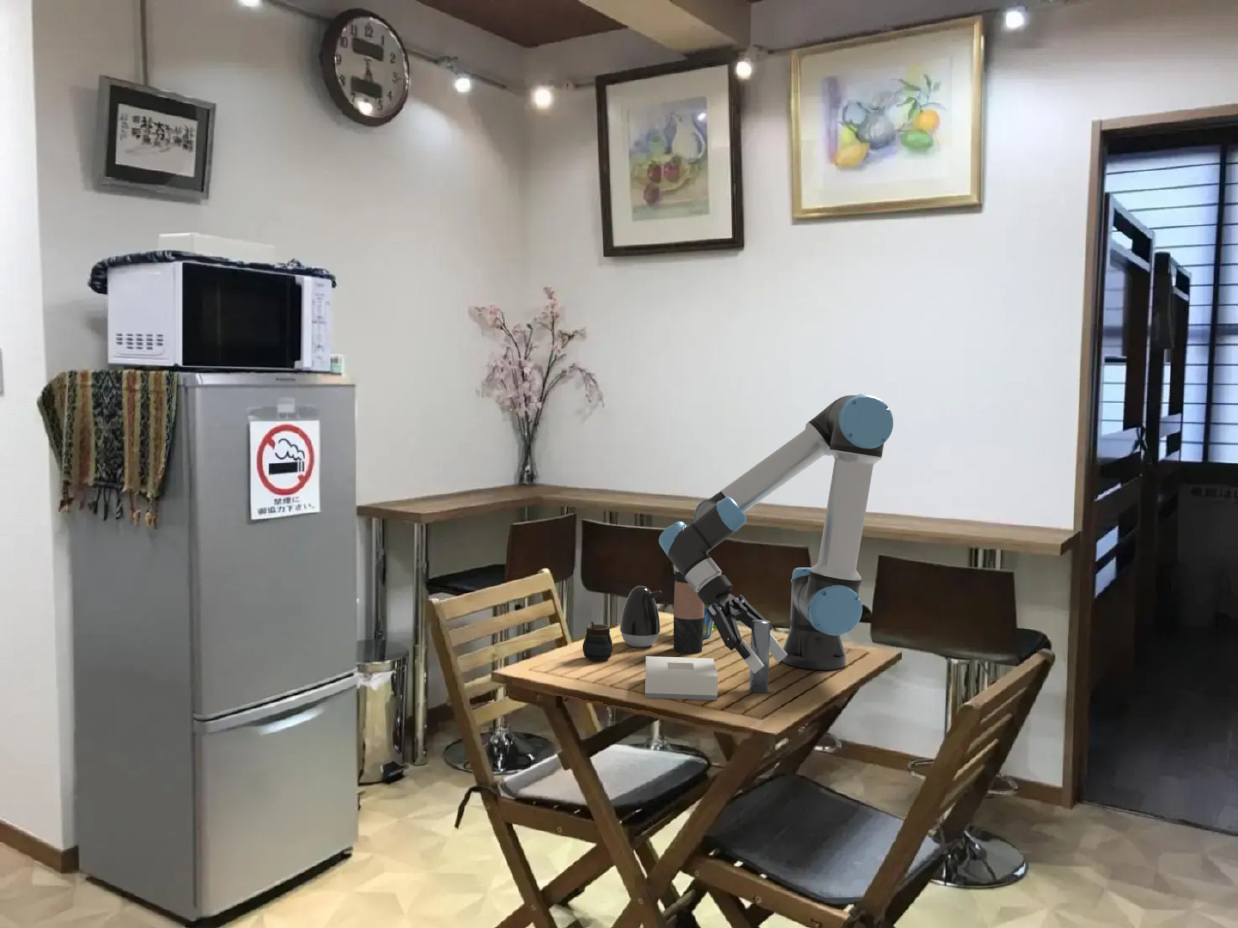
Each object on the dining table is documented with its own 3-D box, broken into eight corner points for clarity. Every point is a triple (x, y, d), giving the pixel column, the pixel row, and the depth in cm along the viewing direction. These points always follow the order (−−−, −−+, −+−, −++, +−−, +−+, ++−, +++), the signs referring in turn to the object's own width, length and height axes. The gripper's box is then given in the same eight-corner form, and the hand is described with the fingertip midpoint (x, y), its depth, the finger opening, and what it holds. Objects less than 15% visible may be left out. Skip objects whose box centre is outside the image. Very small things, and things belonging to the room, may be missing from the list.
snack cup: (730, 640, 262) (732, 602, 262) (698, 644, 257) (699, 605, 256) (695, 628, 276) (696, 592, 275) (663, 632, 270) (664, 594, 269)
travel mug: (706, 653, 247) (708, 573, 246) (676, 654, 246) (678, 573, 245) (698, 646, 255) (701, 568, 254) (669, 646, 253) (671, 568, 252)
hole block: (712, 680, 223) (713, 658, 222) (717, 700, 208) (717, 676, 208) (645, 678, 223) (645, 656, 223) (644, 697, 208) (645, 674, 208)
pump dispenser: (654, 651, 248) (656, 590, 248) (614, 647, 251) (616, 587, 250) (664, 642, 258) (666, 584, 257) (625, 639, 261) (627, 581, 260)
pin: (766, 688, 218) (769, 620, 217) (769, 693, 214) (771, 623, 213) (748, 687, 218) (750, 619, 217) (750, 692, 214) (752, 623, 213)
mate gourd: (615, 656, 242) (616, 616, 241) (608, 664, 235) (610, 623, 234) (586, 654, 244) (587, 613, 243) (579, 662, 236) (580, 620, 235)
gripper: (723, 586, 233) (782, 663, 225) (672, 601, 214) (734, 685, 206) (744, 566, 230) (805, 643, 222) (694, 579, 210) (758, 664, 203)
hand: (771, 664), depth 214 cm, fingers open, 11 cm apart
